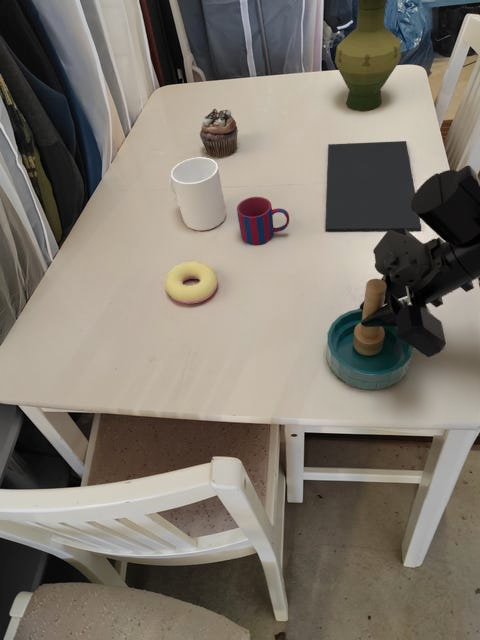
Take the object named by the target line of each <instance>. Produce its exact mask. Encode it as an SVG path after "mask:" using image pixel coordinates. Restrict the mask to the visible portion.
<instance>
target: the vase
mask: <svg viewBox="0 0 480 640" xmlns="http://www.w3.org/2000/svg"><path fill="white" fill-rule="evenodd" d="M356 1H357V2H356V3H357V15H356V16H357V17H356V28H354V29H353V30H352V31H351V32H350V33H348V35H347V36H345V37H344V38H343V39H342V40H341V41H340V42H339V43H338V44H337V46H336V49H335V50H336V51H335V56H334V57H335V58H334V63H335V66H336V68H337V70H338V71H339V73H340V75H341V78H342V79H343V81H344V83H345V84H346V87H347V89H348V94H347V97H346V101H345V106H346V108H347V109H349V110H352V111H354V112H370V111H373V110H376V109H378V108H380V106H381V105H382V104H383V99H382V92H381V90H382V88H383V87H384V85H385V84H386V83H387V81H388V79H389V78H390V77H391V75H392V73H393V72H394V70H395V69H396V67H397V66H398V64H399V62H401V58H402V42H401V40H400V39H399V37H397V36H396V35H395V34H394V33H393V32H392V31H390V30H389V29H388V28H387V27H386V26H385V16H386V7H387V1H388V0H356Z"/></svg>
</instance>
